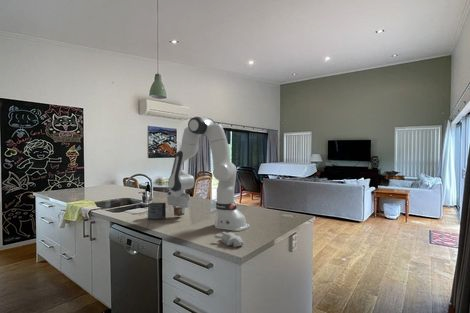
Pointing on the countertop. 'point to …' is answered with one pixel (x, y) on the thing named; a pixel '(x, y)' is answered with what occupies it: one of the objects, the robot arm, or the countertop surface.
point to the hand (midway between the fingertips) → (179, 212)
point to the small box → (157, 211)
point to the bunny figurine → (230, 239)
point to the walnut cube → (178, 211)
